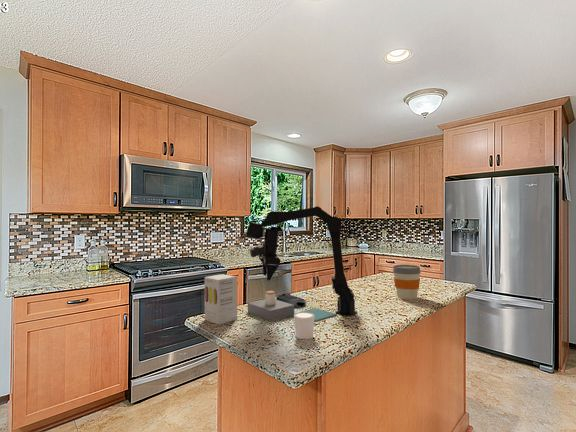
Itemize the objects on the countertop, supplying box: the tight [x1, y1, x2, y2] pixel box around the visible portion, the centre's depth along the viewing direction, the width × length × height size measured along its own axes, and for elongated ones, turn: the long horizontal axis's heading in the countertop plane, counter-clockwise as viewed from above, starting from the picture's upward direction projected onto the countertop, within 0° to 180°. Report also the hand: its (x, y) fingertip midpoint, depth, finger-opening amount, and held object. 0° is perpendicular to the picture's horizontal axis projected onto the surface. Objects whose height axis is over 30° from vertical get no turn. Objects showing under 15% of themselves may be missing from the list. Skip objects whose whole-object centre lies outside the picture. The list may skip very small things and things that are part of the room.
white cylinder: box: [293, 311, 315, 340], centre depth 105 cm, size 7×7×7 cm
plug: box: [264, 290, 277, 306], centre depth 131 cm, size 3×3×9 cm
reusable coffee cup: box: [392, 264, 421, 301], centre depth 155 cm, size 13×13×15 cm
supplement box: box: [204, 273, 238, 325], centre depth 124 cm, size 10×9×17 cm
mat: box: [294, 307, 337, 323], centre depth 128 cm, size 12×12×1 cm
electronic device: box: [275, 293, 307, 308], centre depth 147 cm, size 9×6×15 cm
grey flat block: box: [247, 298, 295, 322], centre depth 131 cm, size 16×12×4 cm
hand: (266, 277), depth 134 cm, fingers open, 9 cm apart
